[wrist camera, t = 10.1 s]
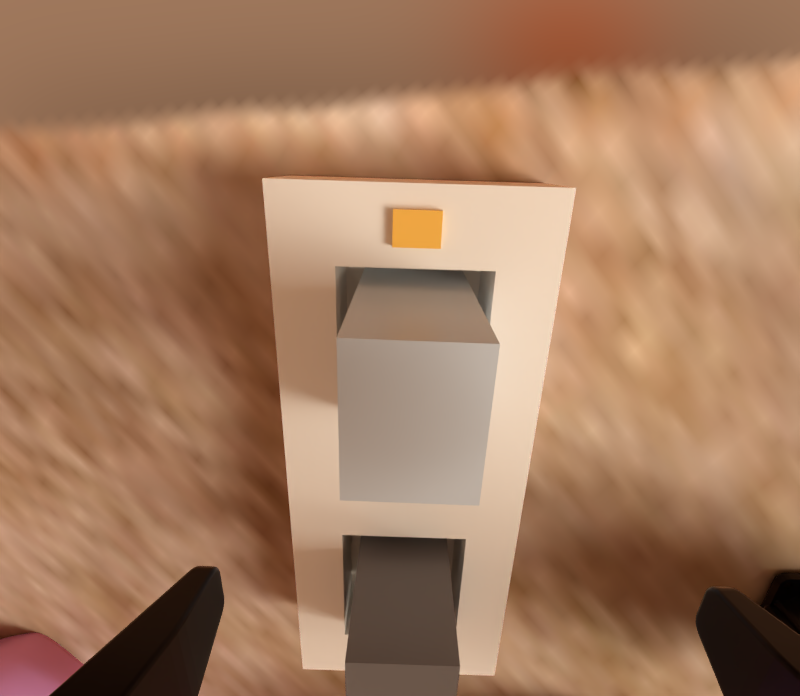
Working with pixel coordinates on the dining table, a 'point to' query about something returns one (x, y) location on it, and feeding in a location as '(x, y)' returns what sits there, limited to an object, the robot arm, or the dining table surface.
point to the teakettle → (33, 665)
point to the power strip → (318, 393)
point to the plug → (414, 389)
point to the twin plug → (402, 620)
